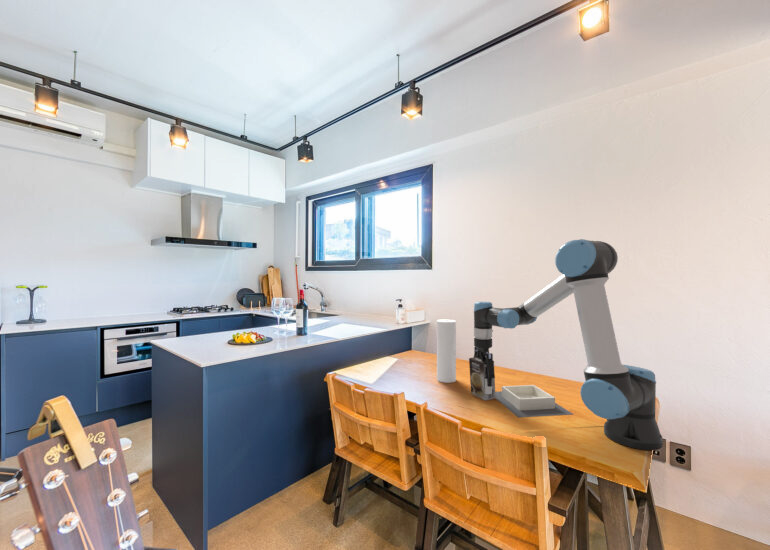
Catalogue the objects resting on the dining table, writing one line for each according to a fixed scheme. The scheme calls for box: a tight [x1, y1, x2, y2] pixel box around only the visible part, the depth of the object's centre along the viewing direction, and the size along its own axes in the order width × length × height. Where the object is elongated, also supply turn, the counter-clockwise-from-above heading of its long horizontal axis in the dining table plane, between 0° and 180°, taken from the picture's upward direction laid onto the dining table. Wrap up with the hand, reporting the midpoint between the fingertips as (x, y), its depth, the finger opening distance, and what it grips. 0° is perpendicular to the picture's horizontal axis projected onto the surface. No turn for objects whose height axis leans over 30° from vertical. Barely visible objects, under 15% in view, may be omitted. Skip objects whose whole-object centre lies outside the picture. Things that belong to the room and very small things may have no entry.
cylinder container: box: [436, 318, 457, 384], centre depth 165 cm, size 9×9×30 cm
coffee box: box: [468, 356, 496, 401], centre depth 142 cm, size 9×6×16 cm
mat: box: [495, 390, 574, 419], centre depth 135 cm, size 26×22×1 cm
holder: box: [501, 384, 556, 410], centre depth 135 cm, size 15×15×4 cm
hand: (483, 388), depth 142 cm, fingers closed on coffee box, 10 cm apart
